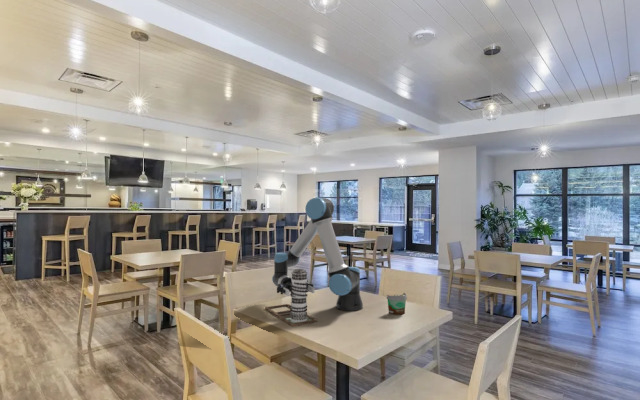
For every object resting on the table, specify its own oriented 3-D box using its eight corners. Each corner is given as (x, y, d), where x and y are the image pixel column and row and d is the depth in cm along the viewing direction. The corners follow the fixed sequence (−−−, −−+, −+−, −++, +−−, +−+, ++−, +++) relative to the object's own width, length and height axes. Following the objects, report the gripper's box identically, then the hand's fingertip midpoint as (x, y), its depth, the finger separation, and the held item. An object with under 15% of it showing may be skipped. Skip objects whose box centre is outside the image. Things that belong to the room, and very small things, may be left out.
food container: (393, 316, 185) (393, 297, 185) (386, 313, 190) (386, 295, 190) (412, 313, 190) (412, 295, 191) (404, 310, 196) (404, 292, 196)
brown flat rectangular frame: (265, 308, 198) (265, 307, 198) (288, 305, 205) (288, 303, 205) (291, 326, 169) (291, 324, 169) (317, 321, 176) (317, 319, 176)
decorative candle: (311, 319, 178) (312, 269, 179) (298, 323, 172) (299, 272, 172) (298, 315, 185) (299, 267, 185) (285, 319, 178) (286, 269, 178)
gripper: (307, 288, 200) (323, 296, 181) (264, 292, 189) (277, 302, 170) (307, 275, 200) (323, 282, 181) (264, 278, 189) (277, 286, 170)
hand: (301, 291), depth 175 cm, fingers open, 13 cm apart
